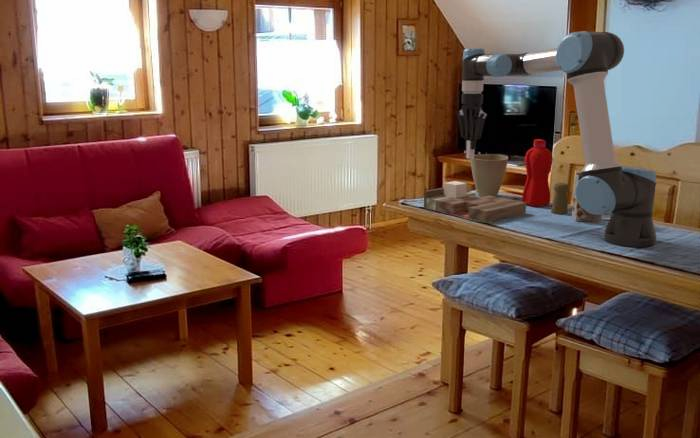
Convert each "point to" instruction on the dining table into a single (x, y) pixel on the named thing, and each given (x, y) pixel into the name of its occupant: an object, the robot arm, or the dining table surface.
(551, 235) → the dining table surface
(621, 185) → the robot arm
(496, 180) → the plant pot
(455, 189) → the block
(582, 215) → the coffee box
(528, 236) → the dining table surface
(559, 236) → the dining table surface
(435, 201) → the wooden board
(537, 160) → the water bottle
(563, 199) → the cork
